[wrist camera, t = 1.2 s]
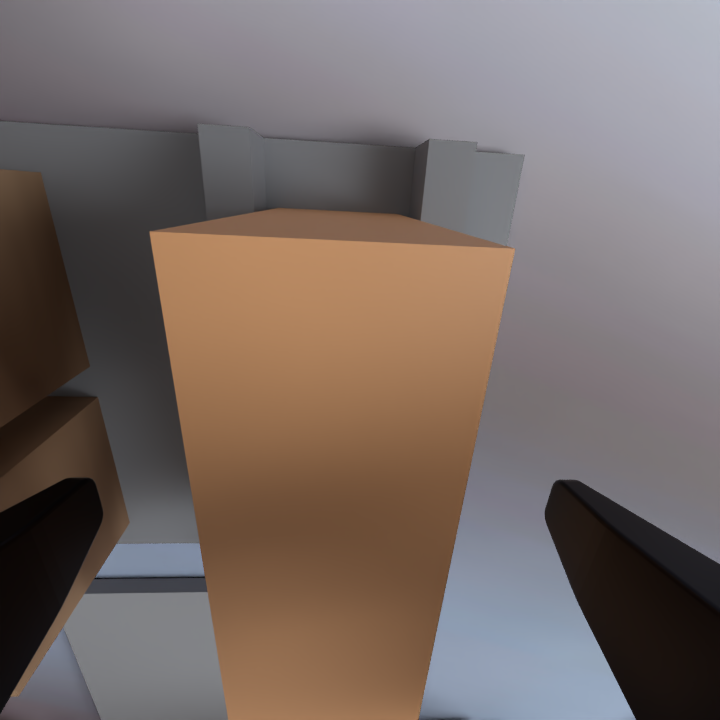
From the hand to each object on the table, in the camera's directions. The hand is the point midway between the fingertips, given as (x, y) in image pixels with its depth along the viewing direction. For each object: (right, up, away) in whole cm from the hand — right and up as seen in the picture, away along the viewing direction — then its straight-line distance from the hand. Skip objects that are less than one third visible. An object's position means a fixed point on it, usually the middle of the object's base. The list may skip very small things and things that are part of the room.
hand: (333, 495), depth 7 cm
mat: (-5, -12, +10) cm, 16 cm away
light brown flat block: (0, +2, +4) cm, 4 cm away
